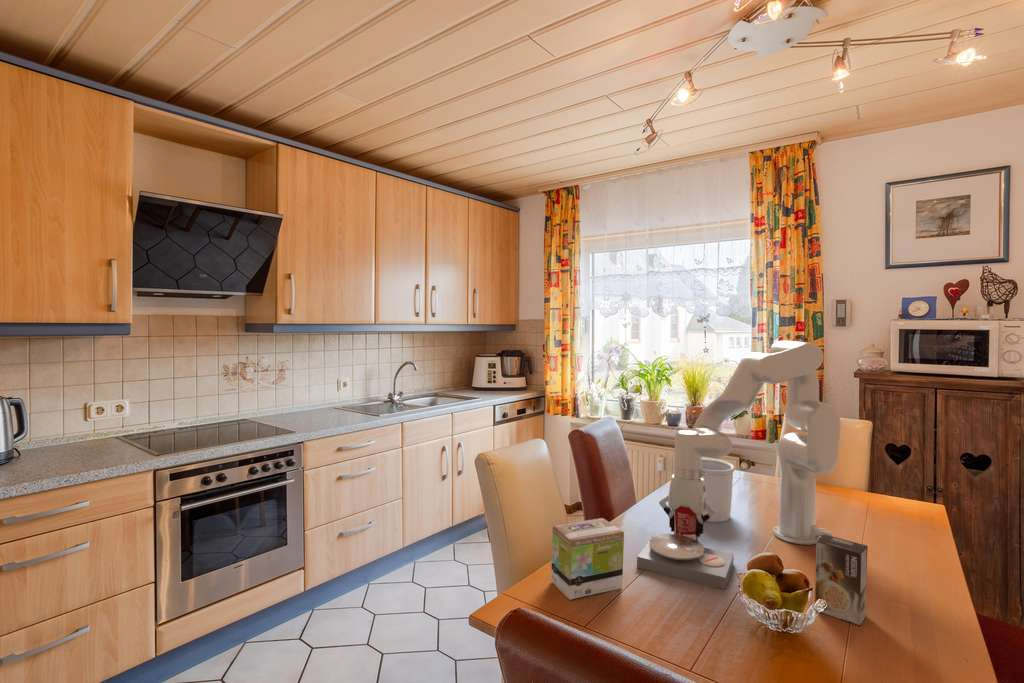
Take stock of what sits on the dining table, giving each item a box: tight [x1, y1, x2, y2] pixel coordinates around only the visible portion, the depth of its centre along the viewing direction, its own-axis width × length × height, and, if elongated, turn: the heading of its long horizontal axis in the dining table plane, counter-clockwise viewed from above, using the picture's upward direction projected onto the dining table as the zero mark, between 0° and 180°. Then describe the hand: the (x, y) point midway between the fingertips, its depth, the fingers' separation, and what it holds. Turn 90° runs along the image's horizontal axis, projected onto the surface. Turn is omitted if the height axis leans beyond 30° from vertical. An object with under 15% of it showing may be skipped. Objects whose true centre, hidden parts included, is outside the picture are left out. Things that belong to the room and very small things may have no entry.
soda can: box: [673, 505, 699, 542], centre depth 155 cm, size 7×7×12 cm
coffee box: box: [814, 534, 868, 626], centre depth 119 cm, size 9×6×16 cm
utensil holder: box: [701, 457, 735, 523], centre depth 177 cm, size 15×15×18 cm
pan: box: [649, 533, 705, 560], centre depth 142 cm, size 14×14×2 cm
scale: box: [636, 536, 735, 590], centre depth 141 cm, size 22×15×4 cm
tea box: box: [550, 517, 625, 601], centre depth 130 cm, size 15×10×15 cm
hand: (686, 532), depth 155 cm, fingers closed on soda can, 6 cm apart
